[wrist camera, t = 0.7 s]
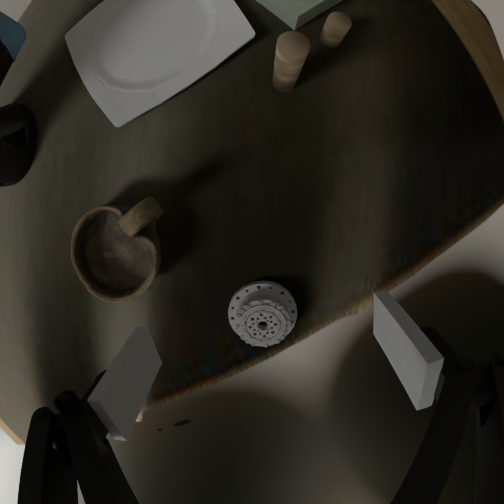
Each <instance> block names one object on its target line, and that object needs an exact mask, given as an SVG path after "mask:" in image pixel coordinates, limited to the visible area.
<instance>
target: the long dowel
mask: <svg viewBox="0 0 504 504" xmlns="http://www.w3.org/2000/svg"><path fill="white" fill-rule="evenodd" d="M309 50H310V42H309V40H308V39H307V37H306V36H305V35H303V34H301V33H299V32H295V31H289V32H285V33H283V34H281V35H280V36H279V38H278V40H277V46H276V54H275V62H274V71H273V79H272V84H273V86H274V88H275V89H276V90H278V91H280V92H288V91H290V90H292V89H293V88H294V86H295V83H296V81H297V78H298V76H299V74H300V71H301V69H302V66H303V64H304V62H305V59H306V57H307V55H308V52H309Z"/></svg>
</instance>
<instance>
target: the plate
mask: <svg viewBox="0 0 504 504" xmlns="http://www.w3.org/2000/svg"><path fill="white" fill-rule="evenodd" d="M254 37H255V31H254V30H253V28H252V27H251V25H250V24H249V22H248V21H247V19H246V17H245V16H244V14H243V13H242V11H241V10H240V9H239V7H238V6H237V4H236V3H235V1H234V0H104V1H103V2H101V3H100V4H99V5H98V6H96V7H95V8H94V9H93V10H92V11H90V12H89V13H88V14H87V15H86V16H85V17H84V18H82V19H81V20H80V21H79V22H78V23H77V24H76V25H75V26H74V27H73V28H72V29H70V30H69V31H68V32H67V33H66V35H65V40H66V43H67V46H68V49H69V51H70V54H71V57H72V60H73V62H74V65H75V67H76V69H77V71H78V73H79V75H80V77H81V79H82V81H83V83H84V85H85V86H86V88H87V90H88V91H89V93H90V95H91V96H92V98H93V99H94V101H95V102H96V103H97V104H98V106H99V107H100V108H101V110H102V111H103V112H104V113H105V115H106V116H107V117H108V119H109V120H110V121H111V122H112V124H113V125H114V126H115V127H121V126H123V125H125V124H126V123H128V122H130V121H131V120H133V119H135V118H136V117H138V116H140V115H142V114H143V113H145V112H147V111H149V110H151V109H152V108H154V107H156V106H158V105H160V104H162V103H163V102H165V101H166V100H168V99H169V98H171V97H172V96H174V95H176V94H177V93H179V92H180V91H182V90H184V89H185V88H187V87H188V86H190V85H191V84H193V83H194V82H195V81H197V80H198V79H200V78H201V77H202V76H204V75H205V74H207V73H208V72H210V71H211V70H213V69H214V68H216V67H217V66H218V65H219V64H220V63H222V62H223V61H224V60H225V59H227V58H228V57H229V56H230V55H232V54H233V53H234V52H236V51H237V50H238V49H240V48H241V47H242V46H243V45H245V44H246V43H248V42H249V41H250V40H252V39H253V38H254Z"/></svg>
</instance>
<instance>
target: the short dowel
mask: <svg viewBox="0 0 504 504" xmlns="http://www.w3.org/2000/svg"><path fill="white" fill-rule="evenodd" d="M351 26H352V22H351V19H350V18H349V17H348V16H347V15H346V14H344V13H341V12H333V13H331V14H330V15H329V16H328V18H327V20H326V23H325V25H324V27H323V29H322V31H321V33H320V36H319V38H320V41H321V42H322V44H324V45H325V46H327V47H331V48H333V47H337V46H338V45H339V44H340V42H341V41H342V39H343V38H344V36H345V35H346V34H347V32H348V31H349V29H350V28H351Z"/></svg>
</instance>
